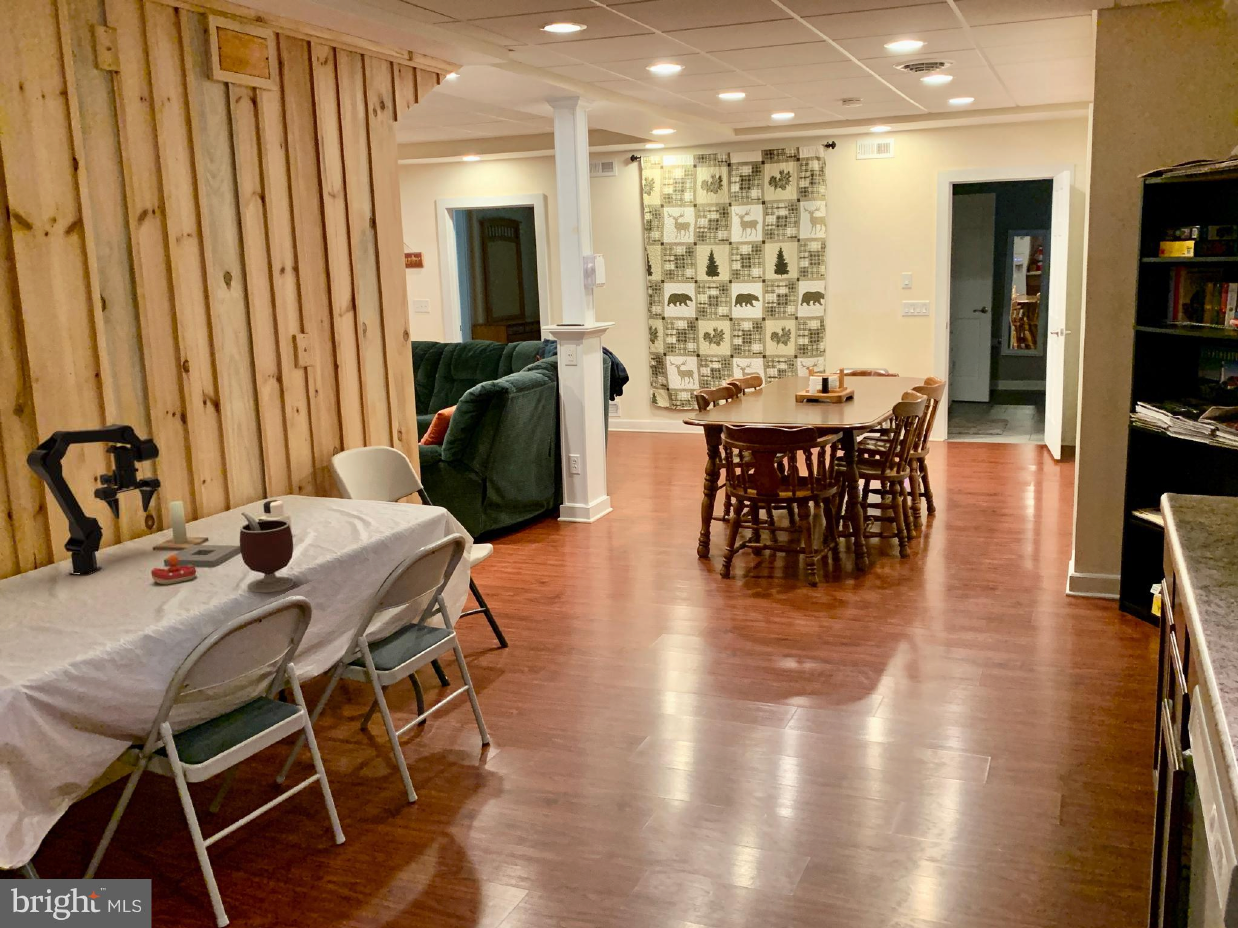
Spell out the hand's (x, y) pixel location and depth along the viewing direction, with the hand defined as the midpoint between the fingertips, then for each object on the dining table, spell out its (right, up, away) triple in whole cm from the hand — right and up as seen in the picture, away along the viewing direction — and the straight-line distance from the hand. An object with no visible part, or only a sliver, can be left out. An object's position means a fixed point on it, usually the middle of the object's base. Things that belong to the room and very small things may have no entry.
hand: (131, 515), depth 327 cm
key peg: (+9, -9, +14) cm, 19 cm away
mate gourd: (+52, -18, -30) cm, 62 cm away
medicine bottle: (+38, -8, +20) cm, 44 cm away
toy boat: (+23, -18, -23) cm, 37 cm away
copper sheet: (+9, -10, +14) cm, 20 cm away
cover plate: (+23, -13, -2) cm, 26 cm away
